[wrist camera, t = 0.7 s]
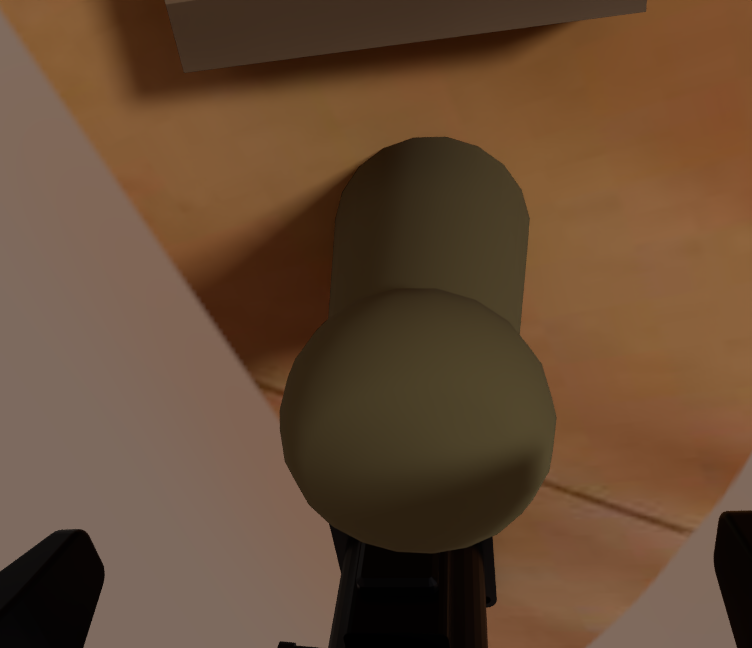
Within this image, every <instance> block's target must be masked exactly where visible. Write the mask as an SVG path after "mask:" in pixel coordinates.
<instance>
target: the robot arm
mask: <svg viewBox="0 0 752 648" xmlns="http://www.w3.org/2000/svg"><path fill="white" fill-rule="evenodd" d="M329 525H330V524H329ZM330 529H331V533H332V537H333V541H334V545H335V550H336V553H337V558H338V562H339V566H340V570H341V578H340V584H339V590H338V595H337V601H336V607H335V613H334V618H333V624H332V630H331V635H330V641H329V646H328V648H488V639H487V617H486V607H491V606H493V605H494V604H495V603H496V601H497V597H496V582H495V567H494V553H493V538H492V537H490V538H488V539H485V540H483V541H481V542H478V543H476V544H474V545H472V546H469V547H467V548H461V549H456V550H450V551H444V552H438V553H412V552H396V551H392V550H388V549H385V548H381V547H377V546H374V545H370V544H366V543H363V542H361V541H359V540H357V539H355V538H353V537H351V536H349V535H348V534H346V533H344V532H342V531H340V530H338V529H336V528H334V527H333V526H331V525H330ZM714 567H715V572H716V576H717V580H718V583H719V586H720V590H721V594H722V597H723V601H724V604H725V607H726V611H727V614H728V618H729V621H730V625H731V628H732V632H733V635H734V638H735V642H736V645H737V648H752V511H726V512H723V513H722V514H721V515H720V518H719V521H718V528H717V535H716V542H715V550H714ZM104 576H105V574H104V566H103V563H102V561H101V559H100V557H99V555H98V553H97V551H96V549H95V547H94V545H93V543H92V541H91V539H90V537H89V535H88V533H86V532H85V531H84V530H81V529H72V530H58V531H55V532H54V533H52V534H51V535H49V536H48V537H47V538H45V539H44V540H42V541H41V542H40V543H38V544H37V545H36V546H34V547H33V548H32V549H30V550H29V551H28V552H26V553H25V554H24V555H22V556H21V557H19V558H18V559H17V560H15V561H14V562H13V563H11V564H10V565H9V566H7V567H6V568H4V569H3V570H2V571H0V648H83V647H84V644H85V640H86V637H87V634H88V631H89V628H90V625H91V621H92V618H93V615H94V612H95V609H96V605H97V602H98V599H99V596H100V593H101V589H102V586H103V583H104ZM278 648H316V647H305V646H296V643H292V642H279V645H278Z"/></svg>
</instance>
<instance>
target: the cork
mask: <svg viewBox="0 0 752 648" xmlns="http://www.w3.org/2000/svg"><path fill="white" fill-rule="evenodd" d="M529 219H530V218H529V215H528V211H527V207H526V204H525V200H524V197H523V193H522V190H521V188H520V187H519V186H518V184H517V183H516V181H515V180H514V178H513V177H512V176H511V174H510V173H509V171H508V170H507V169H506V167H505V166H504V165H503V164H502V163H500V162H499V161H498V160H496V159H495V158H493V157H492V156H491V155H489V154H488V153H486V152H485V151H484V150H482V149H481V148H479V147H478V146H475V145H471V144H468V143H465V142H462V141H458V140H455V139H452V138H448V137H422V138H412V139H409V140H406V141H403V142H400V143H397V144H394V145H392V146H389V147H386V148H383V149H382V150H381V151H379V152H378V153H377V154H375V155H374V156H373V157H372V158H370V159H369V160H368V161H366V162H365V163H364V164H363V165H361V166H360V167H359V168H358V169H357V171H356V172H355V174H354V175H353V177H352V178H351V180H350V181H349V183H348V184H347V186H346V187H345V189H344V190H343V192H342V196H341V200H340V204H339V207H338V211H337V215H336V219H335V232H334V246H333V260H332V275H331V289H330V303H329V317H328V320H326V321H325V322H324V323H323V324H322V325H321V326H320V327H319V328H318V329H317V330H316V332H315V333H314V334H313V336H312V337H311V338H310V340H309V341H308V343H307V344H306V345H305V347H304V348H303V349H302V351H301V352H300V353H299V355H298V356H297V358H296V359H295V361H294V363H293V366H292V368H291V371H290V373H289V376H288V379H287V383H286V387H285V391H284V395H283V399H282V403H281V407H280V433H281V439H282V446H283V452H284V458H285V463H286V464H287V466H288V468H289V470H290V472H291V474H292V476H293V478H294V479H295V481H296V483H297V485H298V486H299V488H300V490H301V492H302V493H303V495H304V497H305V499H306V500H307V502H308V504H309V505H310V506H311V507H312V508H313V509H314V510H315V511H316V512H317V513H318V514H320V515H321V516H322V517H323V518H324V519H325V520H326V521H327V522H328V523H329V524H330V525H331V526H333V527H334V528H336V529H338V530H340V531H342V532H344V533H346V534H348V535H349V536H351V537H353V538H355V539H357V540H359V541H361V542H363V543H366V544H370V545H374V546H377V547H381V548H385V549H388V550H392V551H396V552H412V553H438V552H444V551H450V550H456V549H461V548H467V547H469V546H472V545H474V544H476V543H478V542H481V541H483V540H485V539H488V538H490V537H492V536H494V535H497V534H498V533H499V532H501V531H502V530H503V529H504V528H505V527H507V526H508V525H509V524H510V523H511V522H512V521H514V520H515V519H516V518H517V517H518V516H519V515H521V514H522V513H523V511H524V510H525V509H526V508H527V506H528V505H529V504H530V503H531V501H532V500H533V498H534V497H535V495H536V493H537V491H538V490H539V488H540V486H541V484H542V483H543V481H544V479H545V477H546V476H547V474H548V472H549V469H550V463H551V458H552V452H553V444H554V435H555V426H556V413H555V409H554V405H553V401H552V397H551V393H550V390H549V387H548V383H547V380H546V377H545V374H544V370H543V367H542V364H541V362H540V361H539V360H538V358H537V357H536V356H535V354H534V353H533V352H532V350H531V349H530V348H529V346H528V345H527V344H526V343H525V341H524V340H523V339H522V337H521V336H520V325H521V314H522V302H523V291H524V280H525V269H526V257H527V246H528V232H529Z"/></svg>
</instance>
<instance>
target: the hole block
mask: <svg viewBox="0 0 752 648" xmlns="http://www.w3.org/2000/svg"><path fill="white" fill-rule="evenodd" d="M165 4H166V7H167V11H168V15H169V19H170V22H171V26H172V30H173V34H174V37H175V41H176V45H177V49H178V52H179V56H180V60H181V64H182V67H183V71H184V73H187V72H195V71H202V70H210V69H217V68H225V67H232V66H240V65H248V64H255V63H263V62H270V61H278V60H285V59H293V58H300V57H308V56H315V55H323V54H330V53H338V52H346V51H353V50H361V49H368V48H376V47H383V46H391V45H398V44H406V43H413V42H421V41H428V40H436V39H444V38H451V37H459V36H466V35H474V34H481V33H489V32H496V31H504V30H511V29H519V28H527V27H534V26H542V25H549V24H557V23H564V22H572V21H579V20H587V19H594V18H602V17H609V16H617V15H625V14H632V13H640V12H646V4H647V0H165Z"/></svg>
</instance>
